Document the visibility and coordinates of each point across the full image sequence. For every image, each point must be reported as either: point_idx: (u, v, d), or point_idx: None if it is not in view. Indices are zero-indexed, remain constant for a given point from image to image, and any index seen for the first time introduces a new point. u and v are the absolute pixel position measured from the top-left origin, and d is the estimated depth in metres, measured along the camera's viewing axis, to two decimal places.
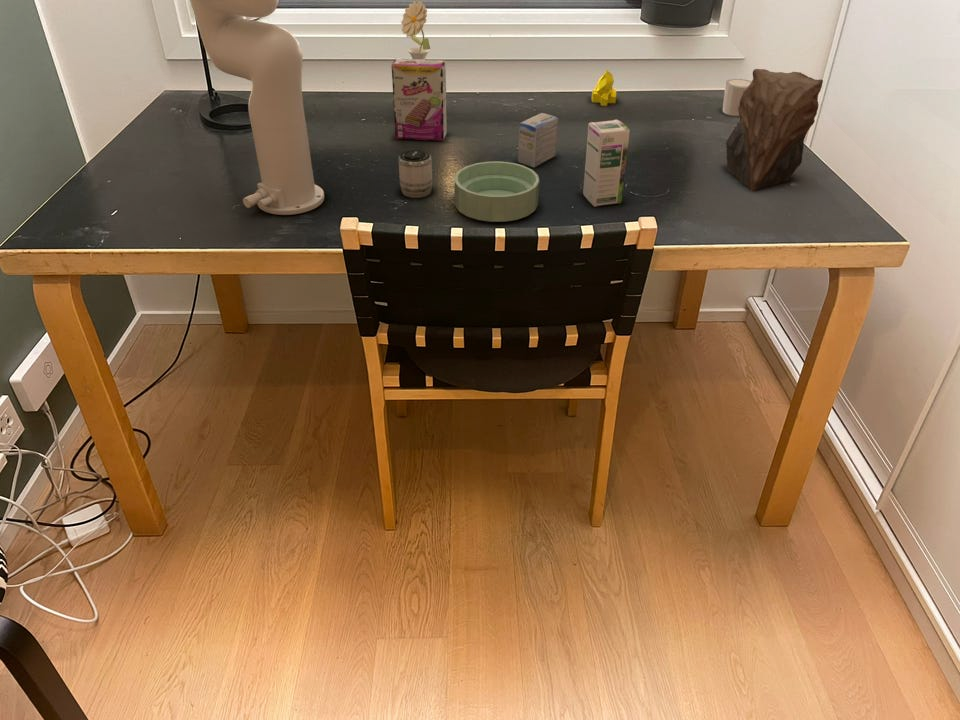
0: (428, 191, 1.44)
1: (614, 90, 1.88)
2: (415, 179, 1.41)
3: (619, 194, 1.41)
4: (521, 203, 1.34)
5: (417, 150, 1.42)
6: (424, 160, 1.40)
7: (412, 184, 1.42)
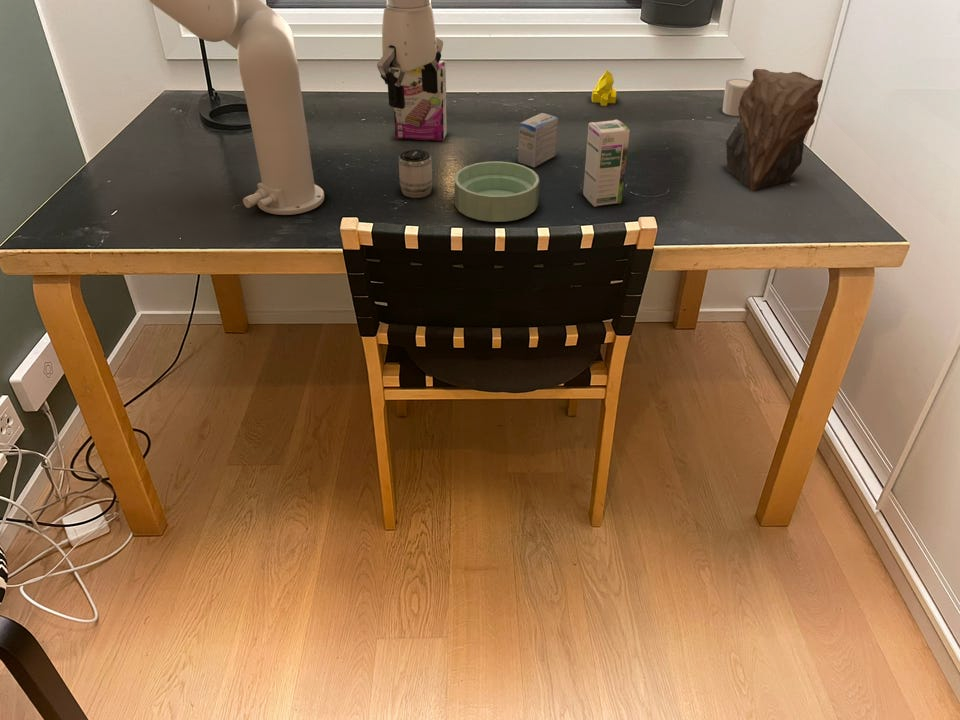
0: (428, 191, 1.44)
1: (614, 90, 1.88)
2: (415, 179, 1.41)
3: (619, 194, 1.41)
4: (521, 203, 1.34)
5: (417, 150, 1.42)
6: (424, 160, 1.40)
7: (412, 184, 1.42)
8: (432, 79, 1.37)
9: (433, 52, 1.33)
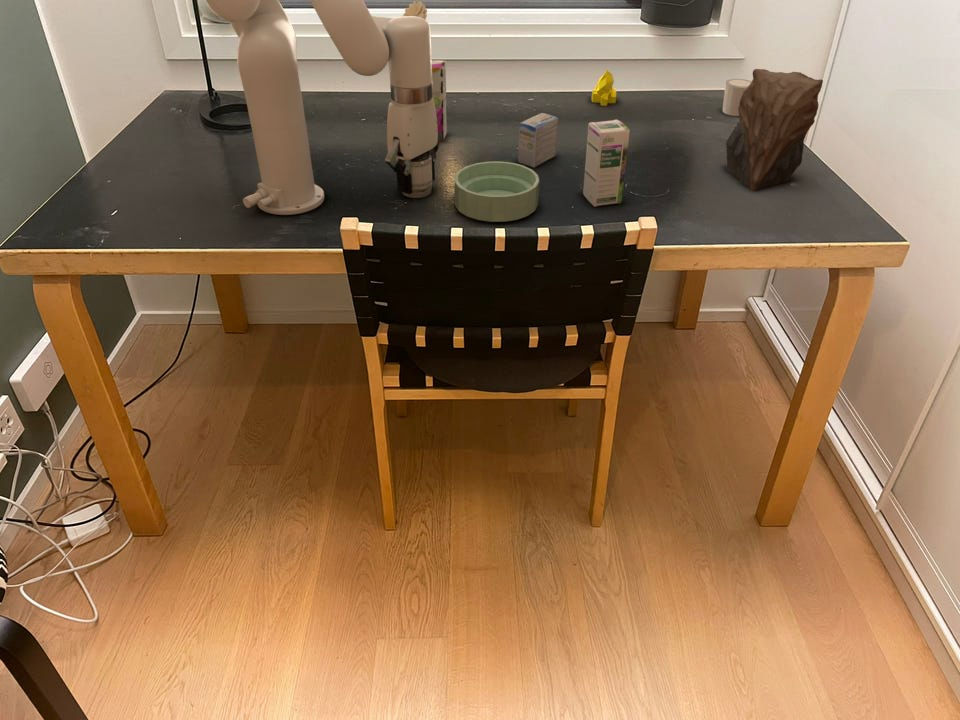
0: (428, 191, 1.44)
1: (614, 90, 1.88)
2: (415, 179, 1.41)
3: (619, 194, 1.41)
4: (521, 203, 1.34)
5: None
6: (424, 160, 1.40)
7: (412, 184, 1.42)
8: None
9: (435, 139, 1.41)
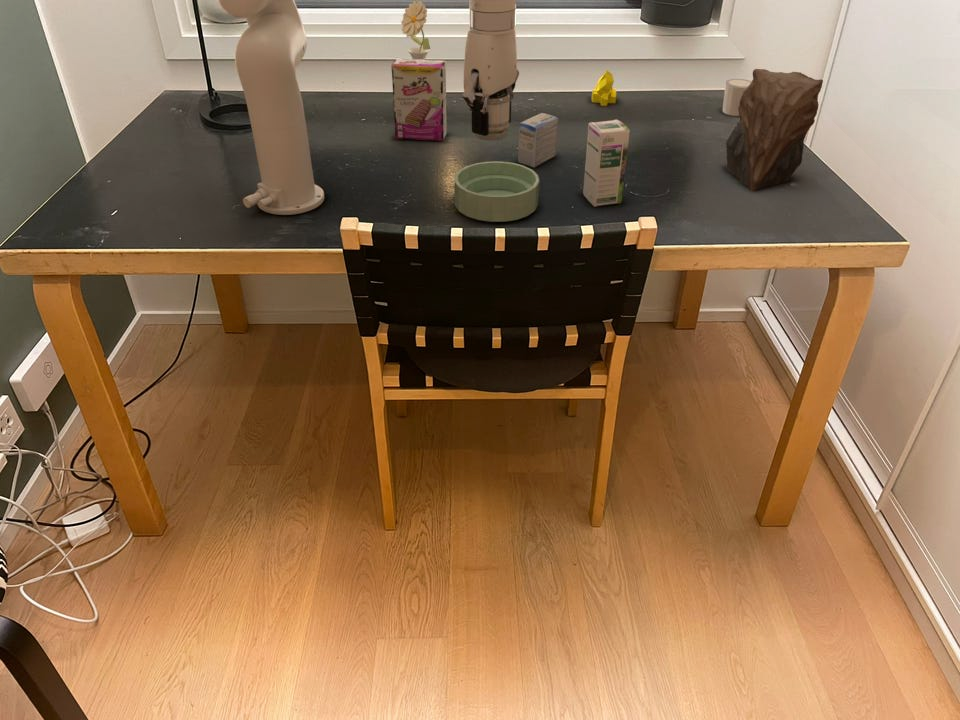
0: (505, 133, 1.32)
1: (614, 90, 1.88)
2: (492, 118, 1.29)
3: (619, 194, 1.41)
4: (521, 203, 1.34)
5: None
6: (503, 97, 1.27)
7: (489, 124, 1.29)
8: None
9: (513, 75, 1.29)
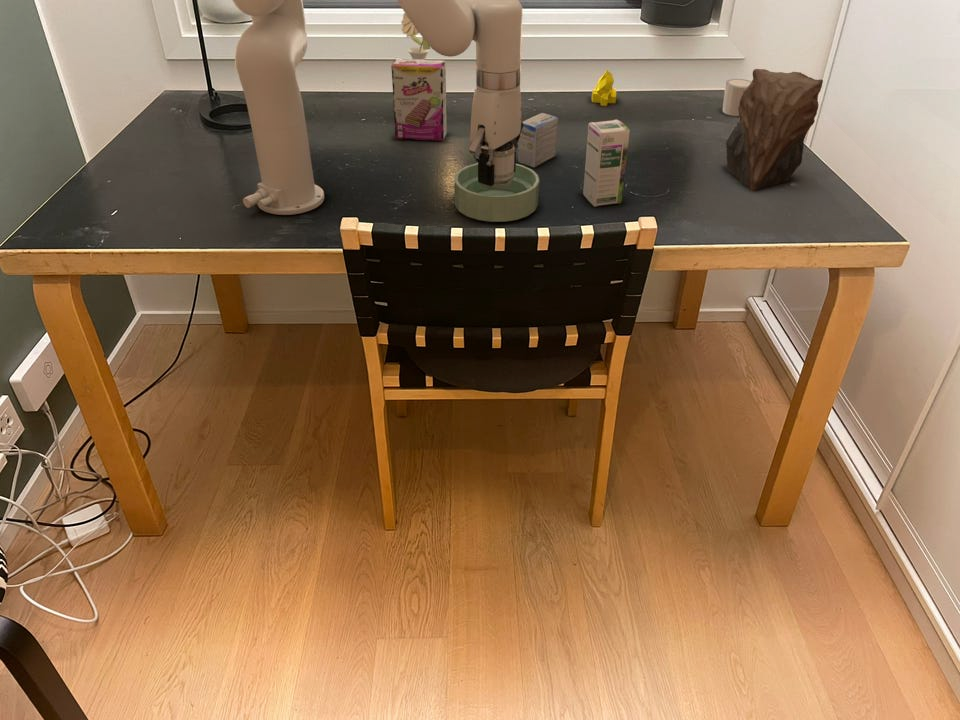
0: (510, 183, 1.37)
1: (614, 90, 1.88)
2: (497, 170, 1.34)
3: (619, 194, 1.41)
4: (521, 203, 1.34)
5: None
6: (508, 150, 1.33)
7: (494, 175, 1.35)
8: None
9: (518, 128, 1.34)
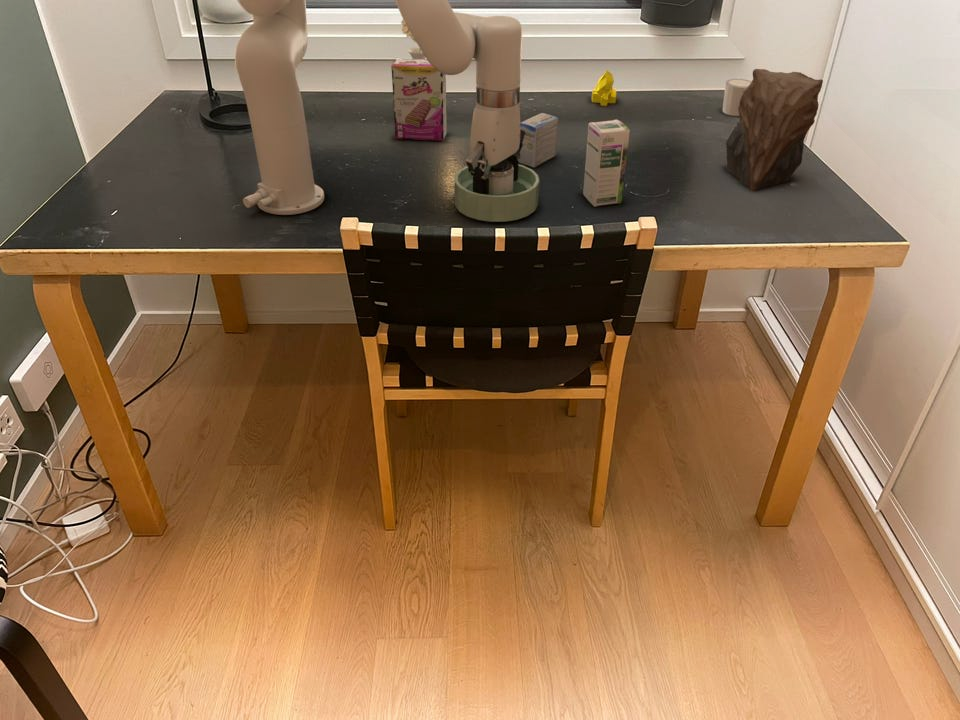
0: None
1: (614, 90, 1.88)
2: (497, 190, 1.36)
3: (619, 194, 1.41)
4: (521, 203, 1.34)
5: None
6: (507, 170, 1.35)
7: None
8: None
9: (517, 144, 1.36)
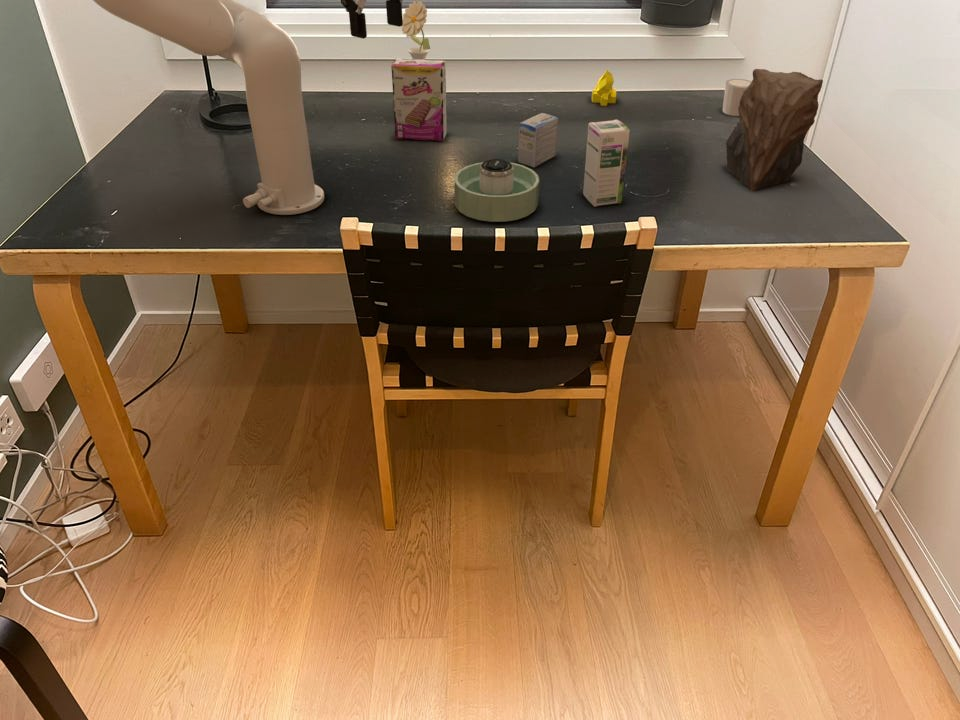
0: None
1: (614, 90, 1.88)
2: (497, 190, 1.36)
3: (619, 194, 1.41)
4: (521, 203, 1.34)
5: (498, 160, 1.37)
6: (507, 170, 1.35)
7: None
8: (397, 11, 1.34)
9: None
